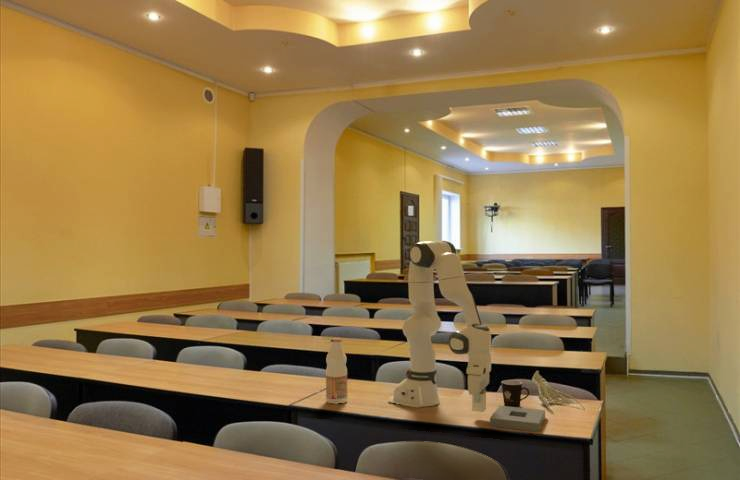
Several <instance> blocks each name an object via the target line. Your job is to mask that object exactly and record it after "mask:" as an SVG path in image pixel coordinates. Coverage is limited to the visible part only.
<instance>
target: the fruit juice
mask: <svg viewBox="0 0 740 480" xmlns="http://www.w3.org/2000/svg"><path fill="white" fill-rule="evenodd" d="M342 341H343V339H342V338H340V337H333V338H330V348H329V349H328V353H327V355H326V358H325V362H326V370H325V392H326V394H325V396H326V397H325V398H326V402H329V403H335V404H334V405H339V404H338V403H343V404H345V403H344V402H346V403H347V402H348V368H347V365H346V364H347V355H346V353H345V352H344V349H343V347H342ZM329 403H328V404H329Z"/></svg>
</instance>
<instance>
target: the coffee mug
mask: <svg viewBox="0 0 740 480" xmlns="http://www.w3.org/2000/svg"><path fill="white" fill-rule="evenodd" d="M500 383H501V390H502V397H503V404H504V405H503V406H508V407H518V408H521V402H522V401H523V400H525V399H527V398H528V397H529V395H530V391H529V389H528V388H527V387H524V386H523V382H522V381H520V380H514V379H506V380H505V379H504V380H502V381H501V382H500ZM522 386H523V387H522ZM523 390H526V392H527V394H526V396H524V397H523V398H522V391H523Z"/></svg>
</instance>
